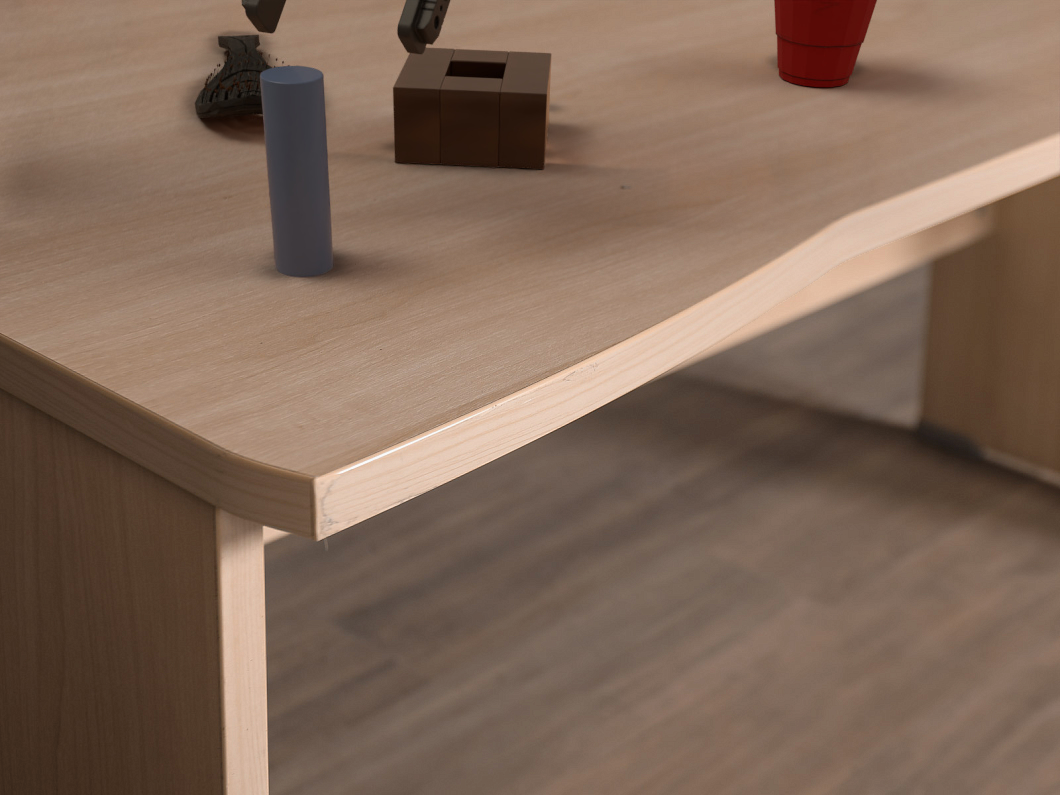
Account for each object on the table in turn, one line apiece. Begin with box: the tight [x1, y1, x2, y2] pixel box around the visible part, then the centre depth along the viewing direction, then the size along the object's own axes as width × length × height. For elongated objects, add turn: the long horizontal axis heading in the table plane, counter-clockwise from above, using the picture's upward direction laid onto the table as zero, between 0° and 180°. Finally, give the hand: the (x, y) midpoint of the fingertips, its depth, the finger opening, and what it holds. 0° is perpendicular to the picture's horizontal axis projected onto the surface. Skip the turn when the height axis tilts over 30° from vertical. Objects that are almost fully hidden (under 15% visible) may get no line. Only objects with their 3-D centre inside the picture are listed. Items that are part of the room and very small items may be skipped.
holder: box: [392, 47, 552, 170], centre depth 83 cm, size 10×10×5 cm
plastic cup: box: [773, 0, 878, 88], centre depth 98 cm, size 11×11×12 cm
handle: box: [260, 65, 334, 278], centre depth 62 cm, size 3×3×11 cm
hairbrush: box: [194, 34, 291, 119], centre depth 92 cm, size 8×4×25 cm
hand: (332, 35), depth 62 cm, fingers open, 8 cm apart
